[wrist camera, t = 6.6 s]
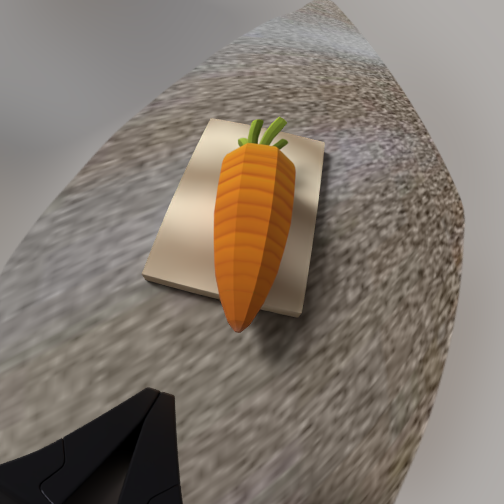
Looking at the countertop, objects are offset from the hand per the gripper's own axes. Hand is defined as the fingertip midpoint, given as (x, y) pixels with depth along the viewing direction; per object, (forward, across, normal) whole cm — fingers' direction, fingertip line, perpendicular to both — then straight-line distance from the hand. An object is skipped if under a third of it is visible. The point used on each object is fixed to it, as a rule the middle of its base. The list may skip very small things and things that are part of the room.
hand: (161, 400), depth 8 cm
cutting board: (+17, 0, -3) cm, 17 cm away
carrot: (+7, -2, +2) cm, 8 cm away
